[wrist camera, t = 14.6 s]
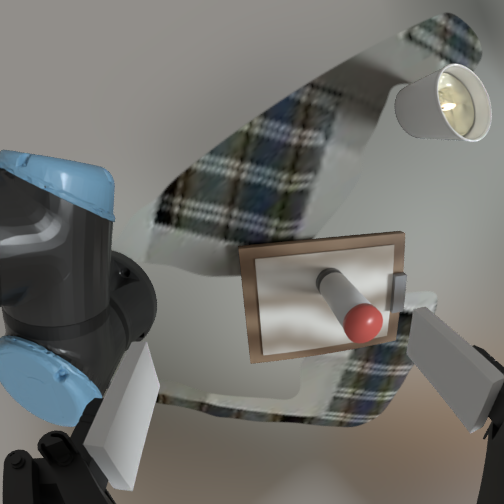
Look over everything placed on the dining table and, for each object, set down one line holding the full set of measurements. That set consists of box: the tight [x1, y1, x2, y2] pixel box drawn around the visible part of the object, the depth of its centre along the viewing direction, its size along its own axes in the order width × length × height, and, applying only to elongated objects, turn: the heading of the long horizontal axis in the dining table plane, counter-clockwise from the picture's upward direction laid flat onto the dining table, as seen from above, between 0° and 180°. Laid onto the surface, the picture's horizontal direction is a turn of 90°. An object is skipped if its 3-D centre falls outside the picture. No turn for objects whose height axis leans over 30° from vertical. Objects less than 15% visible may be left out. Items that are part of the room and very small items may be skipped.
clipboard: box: [238, 231, 407, 364], centre depth 44 cm, size 18×24×3 cm
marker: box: [316, 268, 383, 343], centre depth 36 cm, size 4×4×13 cm
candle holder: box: [395, 64, 492, 142], centre depth 32 cm, size 10×10×12 cm
